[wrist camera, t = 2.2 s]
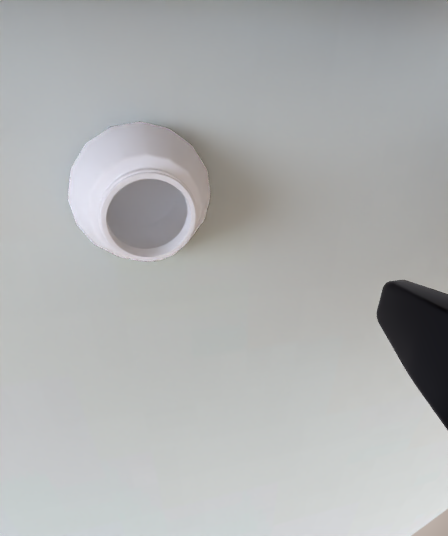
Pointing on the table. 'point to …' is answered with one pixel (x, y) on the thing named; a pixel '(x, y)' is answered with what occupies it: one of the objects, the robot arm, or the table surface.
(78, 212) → the lidless jar
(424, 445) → the table surface
